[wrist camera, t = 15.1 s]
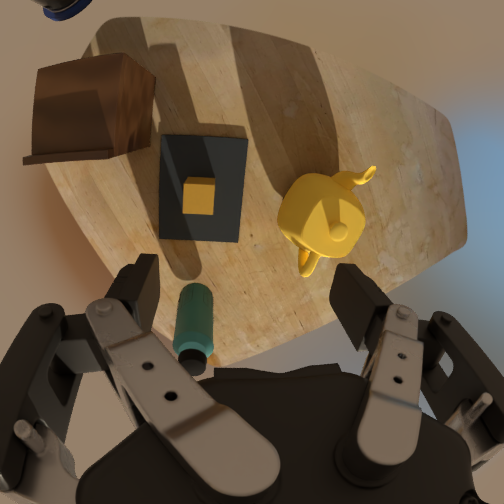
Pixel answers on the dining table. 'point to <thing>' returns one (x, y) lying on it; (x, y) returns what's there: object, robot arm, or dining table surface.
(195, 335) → the beverage bottle
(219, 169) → the slate mat
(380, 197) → the dining table surface
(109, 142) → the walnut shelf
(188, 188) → the yellow block
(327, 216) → the teapot
